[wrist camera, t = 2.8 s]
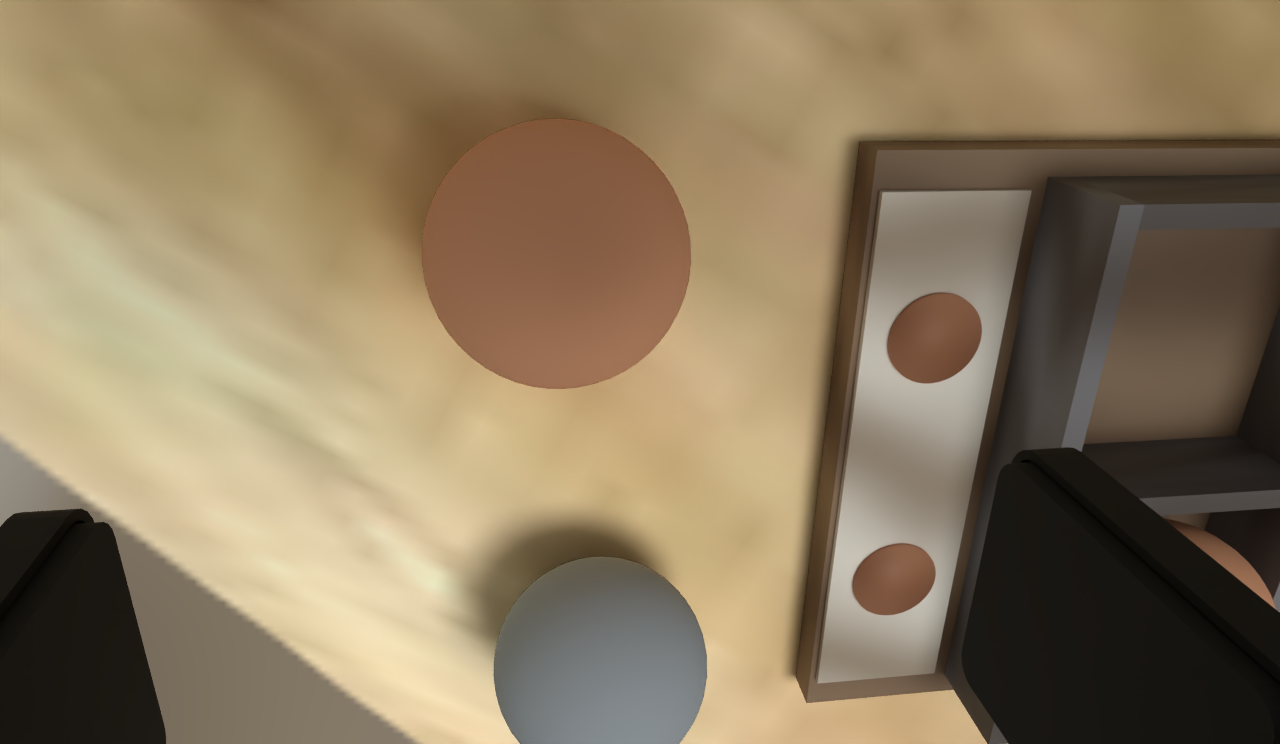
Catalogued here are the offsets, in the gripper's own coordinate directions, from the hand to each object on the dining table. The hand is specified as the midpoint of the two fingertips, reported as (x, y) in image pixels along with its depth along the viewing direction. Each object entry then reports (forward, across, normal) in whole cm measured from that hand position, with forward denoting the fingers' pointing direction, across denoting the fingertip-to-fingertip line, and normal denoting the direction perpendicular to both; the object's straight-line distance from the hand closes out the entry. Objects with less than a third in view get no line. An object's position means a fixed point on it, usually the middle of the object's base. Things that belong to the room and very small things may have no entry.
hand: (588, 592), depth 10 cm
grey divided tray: (+15, -16, +7) cm, 22 cm away
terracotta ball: (+12, 0, 0) cm, 12 cm away
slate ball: (+12, -2, +12) cm, 17 cm away
